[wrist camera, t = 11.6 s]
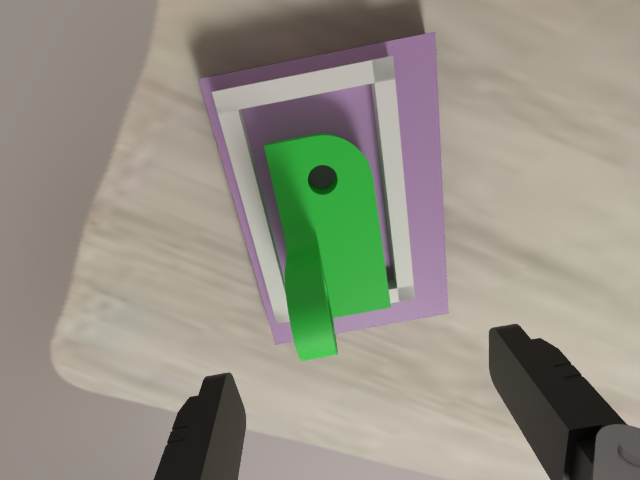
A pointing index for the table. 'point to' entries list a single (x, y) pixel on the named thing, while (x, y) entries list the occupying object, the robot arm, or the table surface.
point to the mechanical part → (327, 238)
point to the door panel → (360, 130)
